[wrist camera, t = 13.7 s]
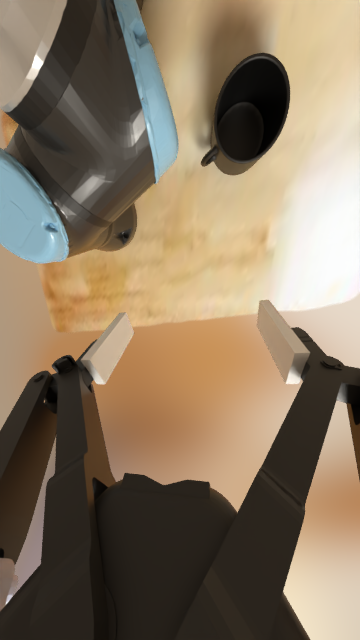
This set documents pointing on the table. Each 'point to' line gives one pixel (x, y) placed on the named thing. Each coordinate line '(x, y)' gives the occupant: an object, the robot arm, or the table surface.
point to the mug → (249, 113)
